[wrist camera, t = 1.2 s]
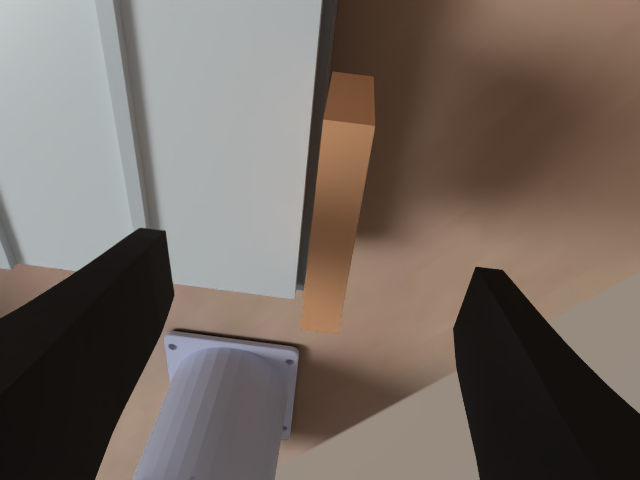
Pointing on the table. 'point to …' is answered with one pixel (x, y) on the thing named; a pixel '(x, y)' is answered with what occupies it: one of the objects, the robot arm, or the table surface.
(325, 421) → the table surface
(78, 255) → the lid
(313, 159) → the tub
